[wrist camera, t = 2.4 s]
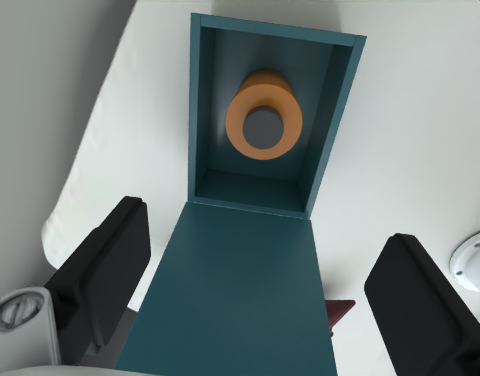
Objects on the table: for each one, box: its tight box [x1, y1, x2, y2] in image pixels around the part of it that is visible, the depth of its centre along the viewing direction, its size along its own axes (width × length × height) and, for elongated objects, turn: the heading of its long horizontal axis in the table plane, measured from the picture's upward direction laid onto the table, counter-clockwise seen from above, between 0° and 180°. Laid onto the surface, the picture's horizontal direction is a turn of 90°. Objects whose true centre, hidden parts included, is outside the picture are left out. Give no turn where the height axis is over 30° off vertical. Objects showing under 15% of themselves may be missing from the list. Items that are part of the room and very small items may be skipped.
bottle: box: [225, 68, 302, 160], centre depth 24 cm, size 6×6×12 cm
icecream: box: [325, 300, 356, 337], centre depth 44 cm, size 7×7×15 cm
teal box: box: [188, 13, 367, 220], centre depth 28 cm, size 18×14×8 cm
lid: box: [113, 202, 338, 376], centre depth 21 cm, size 18×14×1 cm
